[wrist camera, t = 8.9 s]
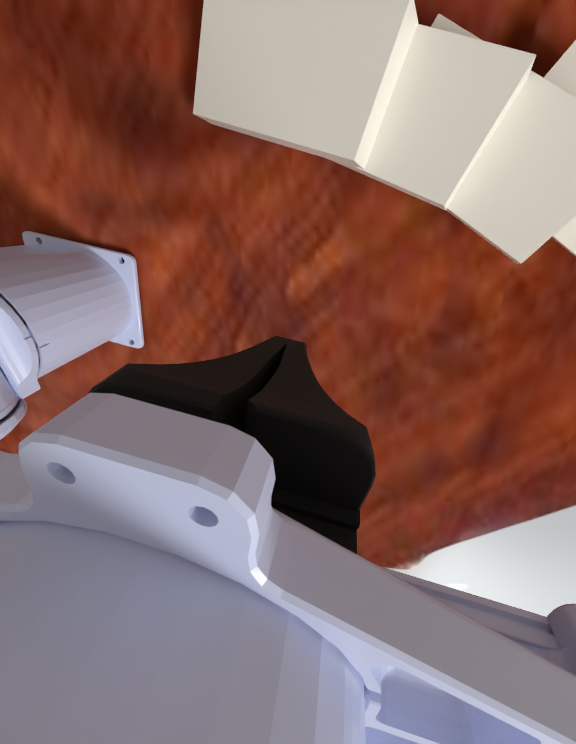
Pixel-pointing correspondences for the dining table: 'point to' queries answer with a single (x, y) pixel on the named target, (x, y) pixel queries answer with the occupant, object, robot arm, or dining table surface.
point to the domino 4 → (572, 76)
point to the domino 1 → (303, 70)
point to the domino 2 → (444, 112)
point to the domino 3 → (522, 169)
